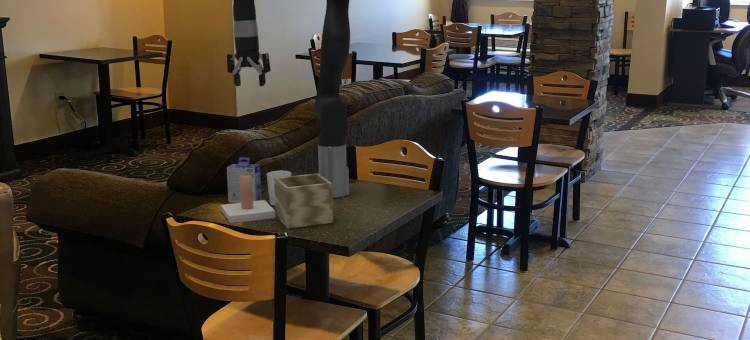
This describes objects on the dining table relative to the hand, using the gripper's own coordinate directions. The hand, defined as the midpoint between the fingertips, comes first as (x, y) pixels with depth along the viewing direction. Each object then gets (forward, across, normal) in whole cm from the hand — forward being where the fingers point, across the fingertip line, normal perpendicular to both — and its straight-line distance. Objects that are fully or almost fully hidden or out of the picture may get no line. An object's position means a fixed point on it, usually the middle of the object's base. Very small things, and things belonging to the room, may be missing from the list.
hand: (250, 86), depth 260 cm
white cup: (+38, -9, +3) cm, 39 cm away
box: (+38, -24, +17) cm, 48 cm away
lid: (+36, -6, +18) cm, 41 cm away
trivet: (+38, -6, +18) cm, 42 cm away
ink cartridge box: (+38, +3, +4) cm, 38 cm away
